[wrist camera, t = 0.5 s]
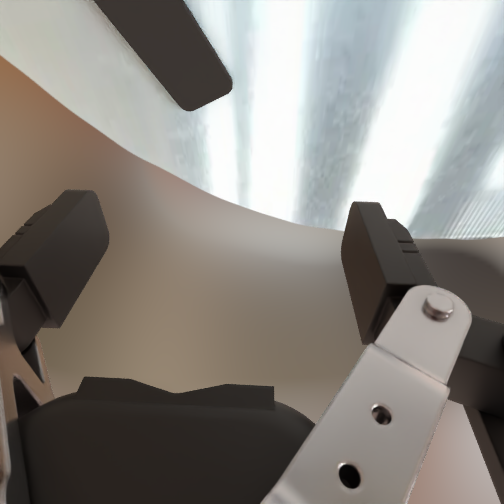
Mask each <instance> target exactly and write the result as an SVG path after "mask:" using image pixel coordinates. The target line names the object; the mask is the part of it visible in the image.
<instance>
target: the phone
mask: <svg viewBox="0 0 504 504" xmlns="http://www.w3.org/2000/svg"><path fill="white" fill-rule="evenodd" d="M94 1H95V3H96V4H97V5H98V6H99V8H100V9H101V10H102V11H103V13H104V14H105V15H106V16H107V17H108V19H109V20H110V21H111V22H112V24H113V25H114V26H115V27H116V29H117V30H118V31H119V32H120V33H121V35H122V36H123V37H124V38H125V40H126V41H127V42H128V43H129V45H130V46H131V47H132V48H133V49H134V51H135V52H136V53H137V54H138V56H139V57H140V58H141V59H142V61H143V62H144V63H145V64H146V65H147V67H148V68H149V69H150V70H151V72H152V73H153V74H154V75H155V77H156V78H157V79H158V80H159V81H160V83H161V84H162V85H163V86H164V88H165V89H166V90H167V91H168V93H169V94H170V95H171V96H172V97H173V99H174V100H175V101H176V102H177V104H178V105H179V106H180V107H181V108H182V109H183V110H185V111H194V110H196V109H198V108H200V107H202V106H204V105H206V104H208V103H210V102H212V101H214V100H216V99H218V98H220V97H222V96H224V95H226V94H228V93H229V92H230V91H231V89H232V85H233V82H232V79H231V77H230V75H229V73H228V72H227V70H226V69H225V67H224V65H223V64H222V62H221V61H220V59H219V57H218V56H217V54H216V52H215V51H214V49H213V48H212V46H211V44H210V43H209V41H208V40H207V38H206V36H205V35H204V33H203V31H202V30H201V28H200V27H199V25H198V23H197V22H196V20H195V19H194V17H193V15H192V14H191V12H190V11H189V9H188V7H187V6H186V4H185V2H184V1H183V0H94Z"/></svg>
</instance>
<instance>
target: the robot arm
mask: <svg viewBox="0 0 504 504" xmlns="http://www.w3.org/2000/svg"><path fill="white" fill-rule="evenodd" d="M413 242H414V241H413V239H412V237H411V235H410V233H409V232H408V230H407V229H406V228H405V227H404V226H403V225H401V224H400V223H399V222H398V221H397V220H395V219H387V217H386V215H385V213H384V211H383V209H382V207H381V205H380V203H378V202H355V201H354V202H353V203H352V205H351V208H350V211H349V215H348V220H347V224H346V228H345V232H344V236H343V240H342V246H341V259H342V264H343V268H344V272H345V276H346V280H347V284H348V288H349V292H350V296H351V300H352V304H353V308H354V312H355V316H356V320H357V324H358V329H359V333H360V337H361V341H362V344H364V345H368V347H367V348H366V350H365V351H364V353H363V354H362V356H361V357H360V359H359V360H358V362H357V363H356V365H355V366H354V368H353V369H352V371H351V372H350V374H349V375H348V377H347V378H346V380H345V381H344V383H343V384H342V386H341V387H340V389H339V390H338V392H337V393H336V395H335V396H334V398H333V399H332V401H331V402H330V404H329V405H328V407H327V408H326V410H325V411H324V413H323V414H322V416H321V417H320V419H319V420H318V422H317V423H316V424H315V423H313V422H312V421H311V420H310V419H308V418H307V417H306V416H305V415H303V414H301V413H300V412H298V411H297V410H295V409H293V408H291V407H289V406H287V405H285V404H283V403H280V402H276V401H274V387H273V386H272V387H271V386H254V385H236V384H225V385H220V386H214V387H210V388H204V389H199V390H194V391H189V392H184V393H171V392H168V391H165V390H162V389H159V388H156V387H153V386H150V385H146V384H143V383H141V382H138V381H135V380H132V379H121V378H102V377H84V378H83V380H82V382H81V384H80V387H79V389H78V391H77V392H75V393H71V394H68V395H65V396H61V397H59V398H56V399H55V397H54V394H53V391H52V388H51V384H50V380H49V375H48V371H47V367H46V363H45V359H44V355H43V351H42V347H41V343H40V340H39V338H38V337H37V335H36V334H37V333H38V331H39V330H40V328H41V327H43V328H60V327H61V325H62V324H63V322H64V320H65V319H66V317H67V315H68V314H69V312H70V310H71V309H72V307H73V305H74V304H75V302H76V300H77V298H78V297H79V295H80V294H81V292H82V290H83V289H84V287H85V285H86V284H87V282H88V280H89V279H90V277H91V275H92V274H93V272H94V270H95V269H96V267H97V265H98V264H99V262H100V260H101V259H102V257H103V255H104V254H105V252H106V250H107V248H108V244H109V231H108V228H107V225H106V222H105V218H104V215H103V212H102V209H101V206H100V202H99V199H98V197H97V195H96V193H95V192H94V191H92V190H69V189H68V190H65V191H64V192H63V193H62V194H61V195H60V196H59V197H58V198H57V199H56V200H55V201H54V202H53V203H52V205H49V206H47V207H45V208H43V209H42V210H40V211H38V212H36V213H34V214H33V216H32V217H31V218H30V219H29V220H28V221H27V222H26V223H25V224H24V226H22V227H21V228H20V229H19V230H18V231H17V232H16V235H13V236H12V237H11V238H10V239H9V240H8V241H7V242H6V243H5V244H4V245H3V246H2V247H1V248H0V504H407V502H408V500H409V497H410V494H411V492H412V489H413V486H414V484H415V481H416V479H417V476H418V474H419V471H420V468H421V466H422V463H423V461H424V458H425V456H426V453H427V451H428V448H429V445H430V442H431V440H432V437H433V435H434V432H435V430H436V427H437V425H438V422H439V419H440V417H441V414H442V412H443V409H444V406H445V404H446V401H447V399H448V400H452V401H454V402H457V403H460V404H463V406H464V409H465V411H466V414H467V416H468V419H469V422H470V424H471V427H472V429H473V432H474V435H475V437H476V440H477V443H478V445H479V448H480V450H481V453H482V456H483V458H484V461H485V463H486V466H487V468H488V471H489V473H490V476H491V479H492V482H493V484H494V487H495V489H496V492H497V495H498V497H499V500H500V502H501V504H504V324H501V323H498V322H494V321H490V320H486V319H484V318H480V317H477V316H474V315H471V312H470V310H469V308H468V306H467V305H466V304H465V303H464V302H463V301H462V300H461V299H460V298H459V297H457V296H456V295H454V294H453V293H451V292H449V291H447V290H445V289H442V288H439V287H438V286H437V284H436V282H435V280H434V278H433V277H432V275H431V273H430V271H429V269H428V267H427V265H426V263H425V262H424V260H423V258H422V256H421V254H420V253H419V250H418V248H417V247H416V245H415V244H414V243H413Z"/></svg>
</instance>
